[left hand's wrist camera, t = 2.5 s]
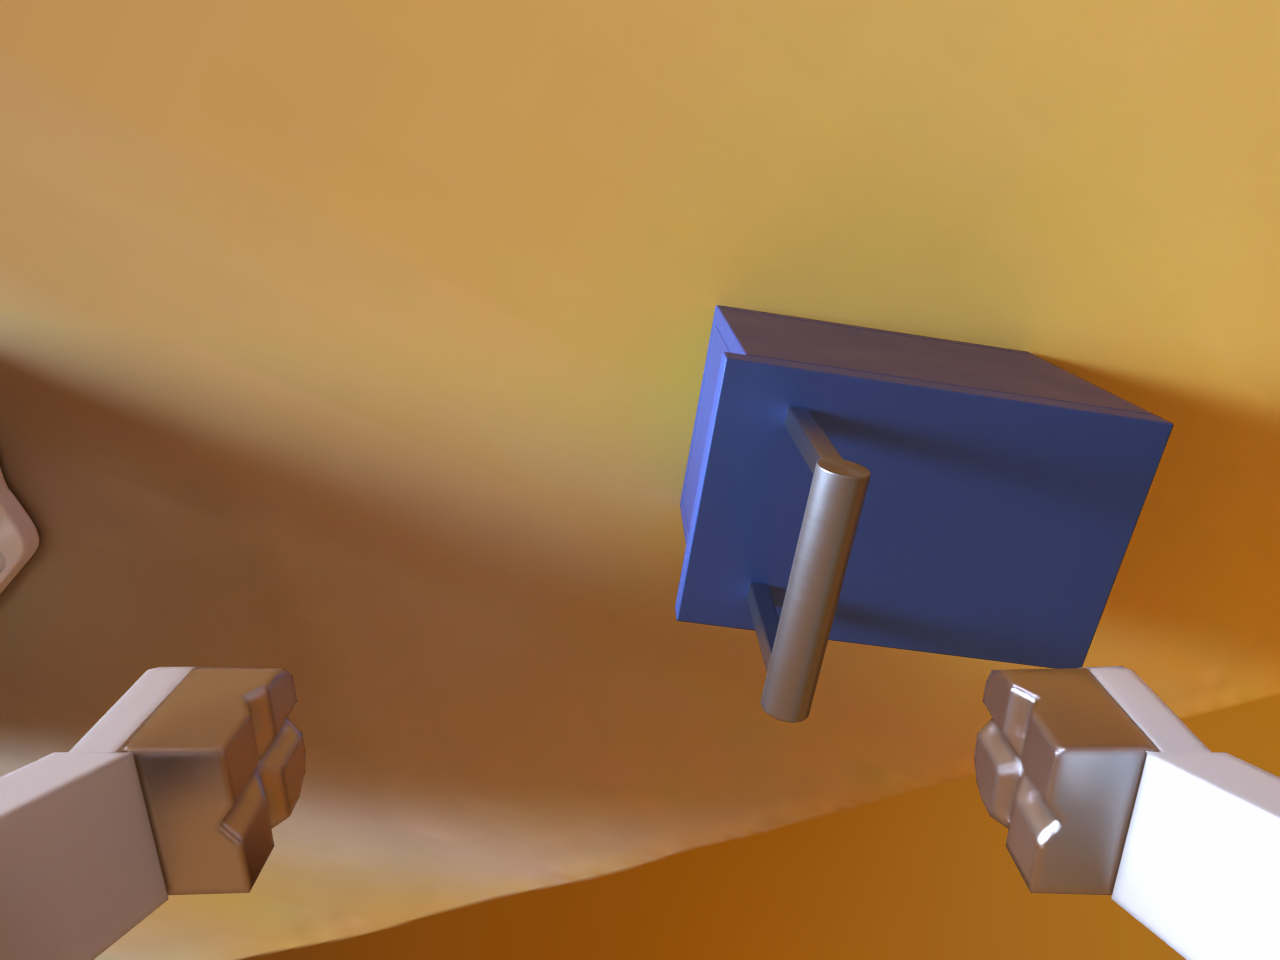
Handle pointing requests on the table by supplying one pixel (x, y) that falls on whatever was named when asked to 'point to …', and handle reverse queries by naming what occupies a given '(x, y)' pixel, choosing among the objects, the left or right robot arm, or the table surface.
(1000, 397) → the lid
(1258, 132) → the table surface
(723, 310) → the chest
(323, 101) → the table surface
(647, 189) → the table surface
